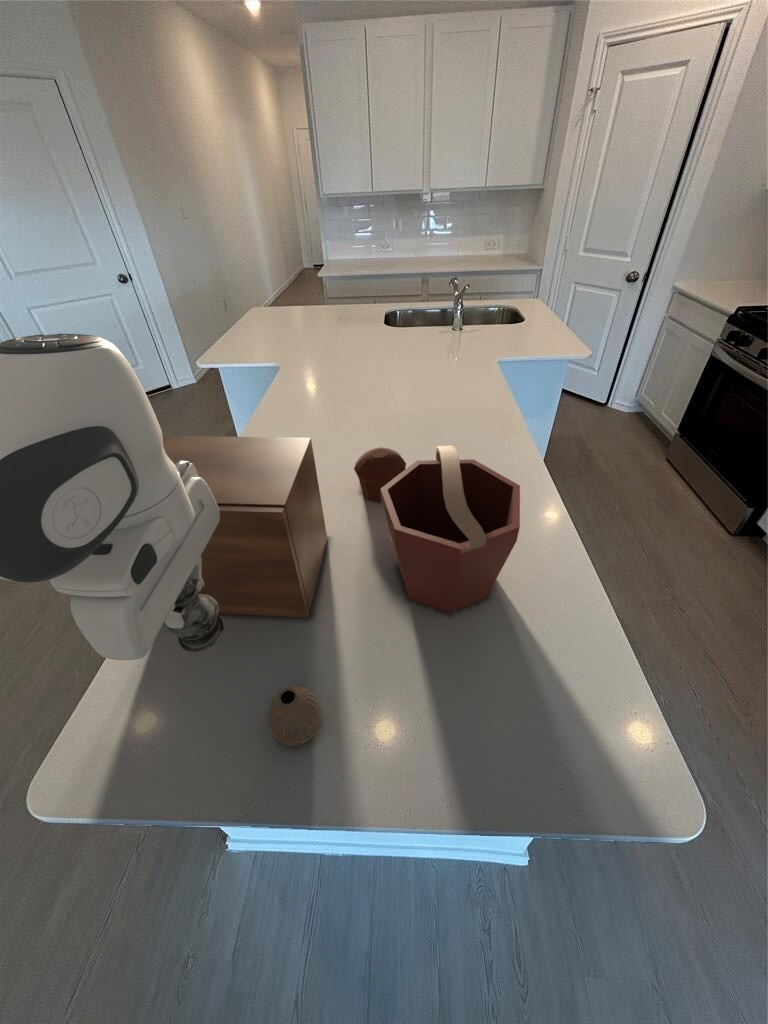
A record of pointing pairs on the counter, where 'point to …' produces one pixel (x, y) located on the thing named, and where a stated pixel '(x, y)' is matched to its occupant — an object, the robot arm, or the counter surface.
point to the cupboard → (264, 485)
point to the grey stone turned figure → (198, 619)
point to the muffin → (378, 470)
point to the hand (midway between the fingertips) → (187, 606)
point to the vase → (294, 716)
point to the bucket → (451, 528)
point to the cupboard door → (253, 564)
